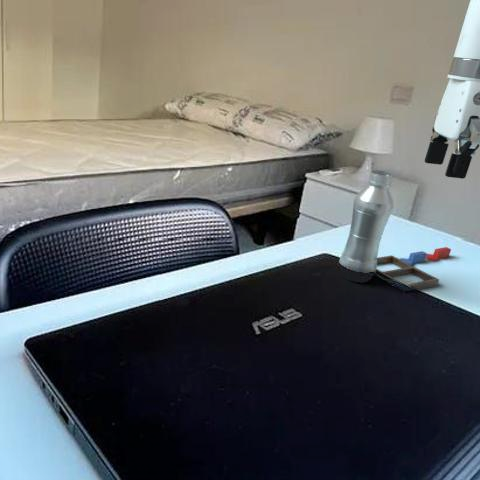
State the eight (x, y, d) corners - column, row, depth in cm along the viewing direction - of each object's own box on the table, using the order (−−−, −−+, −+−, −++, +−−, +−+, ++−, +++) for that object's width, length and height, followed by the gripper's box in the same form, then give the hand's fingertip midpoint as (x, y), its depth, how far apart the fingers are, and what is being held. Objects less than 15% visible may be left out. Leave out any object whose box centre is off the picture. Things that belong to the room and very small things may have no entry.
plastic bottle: (378, 280, 91) (408, 174, 83) (363, 291, 87) (394, 181, 79) (344, 267, 95) (370, 165, 87) (328, 278, 91) (354, 171, 83)
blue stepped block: (416, 260, 102) (419, 249, 101) (426, 265, 100) (430, 254, 99) (395, 264, 99) (399, 253, 98) (405, 269, 97) (409, 258, 96)
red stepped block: (440, 256, 105) (443, 245, 104) (450, 260, 103) (454, 250, 102) (420, 259, 102) (424, 248, 101) (431, 264, 100) (434, 253, 99)
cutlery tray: (389, 263, 99) (391, 255, 98) (436, 288, 90) (439, 279, 90) (357, 269, 95) (359, 260, 95) (403, 295, 87) (405, 286, 86)
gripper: (526, 78, 76) (487, 186, 83) (474, 70, 92) (445, 161, 98) (475, 73, 76) (440, 180, 83) (432, 66, 92) (406, 156, 99)
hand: (443, 170), depth 91 cm, fingers open, 9 cm apart
